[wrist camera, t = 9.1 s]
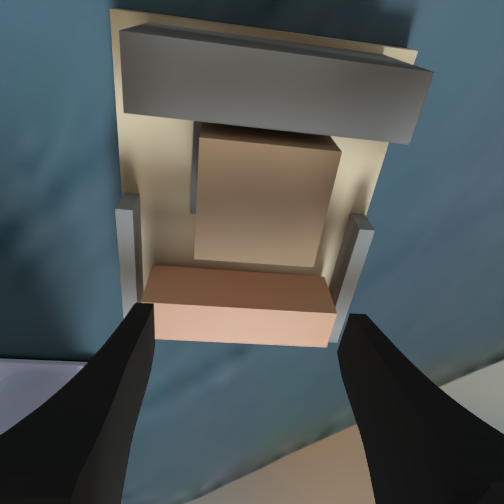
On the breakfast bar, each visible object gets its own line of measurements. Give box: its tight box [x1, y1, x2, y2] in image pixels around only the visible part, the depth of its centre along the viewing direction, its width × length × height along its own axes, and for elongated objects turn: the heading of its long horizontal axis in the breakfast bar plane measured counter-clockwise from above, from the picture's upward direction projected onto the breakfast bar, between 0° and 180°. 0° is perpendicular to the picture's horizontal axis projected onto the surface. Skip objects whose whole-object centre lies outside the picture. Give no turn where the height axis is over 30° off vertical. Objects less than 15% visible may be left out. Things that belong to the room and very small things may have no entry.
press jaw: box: [141, 265, 337, 347], centre depth 22 cm, size 2×10×3 cm, turn 83°
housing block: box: [194, 122, 342, 267], centre depth 17 cm, size 5×5×5 cm
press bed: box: [110, 8, 434, 342], centre depth 19 cm, size 16×13×6 cm
